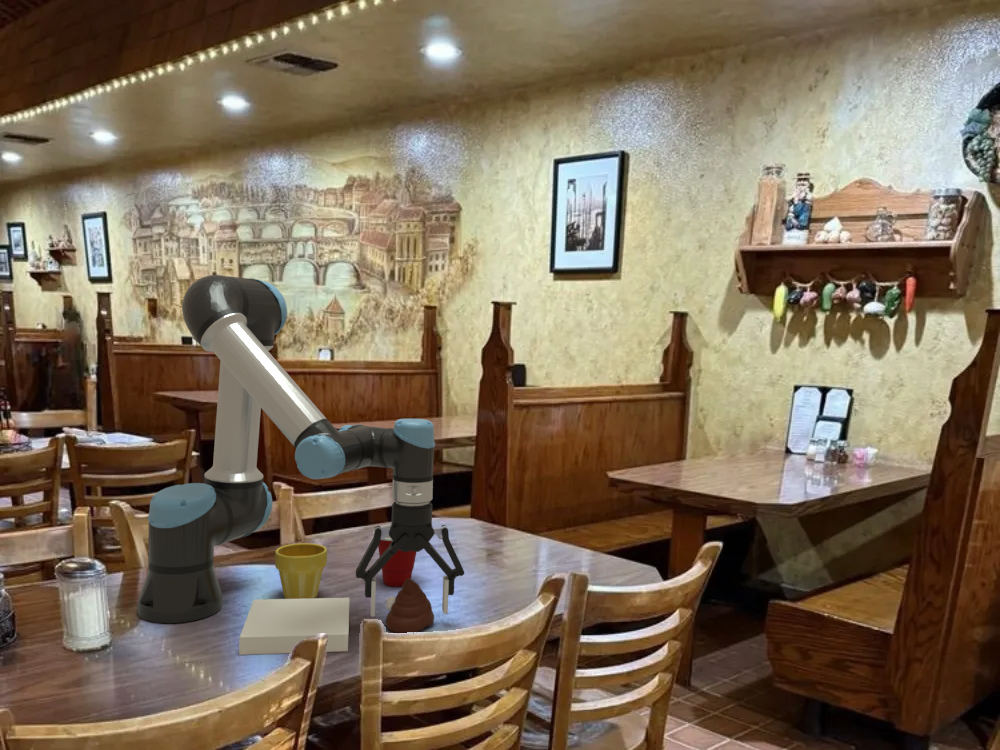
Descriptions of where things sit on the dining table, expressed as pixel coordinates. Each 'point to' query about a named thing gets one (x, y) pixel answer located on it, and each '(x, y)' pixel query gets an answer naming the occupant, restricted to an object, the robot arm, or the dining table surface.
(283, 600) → the base board
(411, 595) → the poop emoji
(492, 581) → the dining table surface
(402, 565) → the plastic cup
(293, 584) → the plant pot
